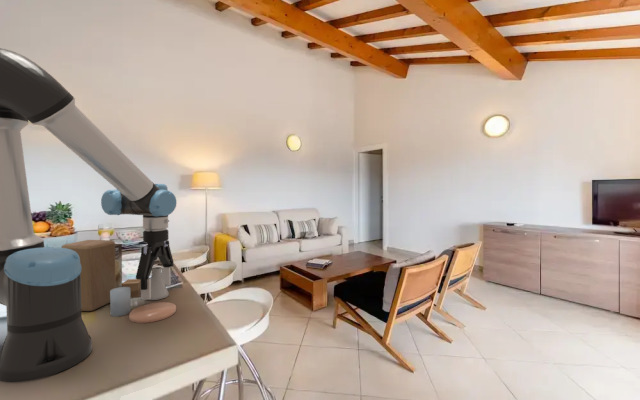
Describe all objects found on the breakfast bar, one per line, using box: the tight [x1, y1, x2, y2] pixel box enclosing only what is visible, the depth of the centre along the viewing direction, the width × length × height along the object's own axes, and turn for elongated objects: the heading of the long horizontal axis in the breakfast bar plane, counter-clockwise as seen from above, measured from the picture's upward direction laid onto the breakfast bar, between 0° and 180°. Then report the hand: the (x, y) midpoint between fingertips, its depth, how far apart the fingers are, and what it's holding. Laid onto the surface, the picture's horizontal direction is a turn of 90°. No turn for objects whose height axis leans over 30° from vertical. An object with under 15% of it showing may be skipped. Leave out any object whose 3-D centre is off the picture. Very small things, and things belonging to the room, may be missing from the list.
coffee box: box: [115, 243, 123, 288], centre depth 109 cm, size 9×6×16 cm
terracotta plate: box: [128, 301, 177, 324], centre depth 88 cm, size 12×12×1 cm
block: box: [60, 239, 116, 312], centre depth 94 cm, size 10×10×20 cm
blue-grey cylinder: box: [109, 286, 132, 317], centre depth 89 cm, size 5×5×7 cm
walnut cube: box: [121, 278, 141, 299], centre depth 104 cm, size 5×5×5 cm
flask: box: [145, 266, 170, 301], centre depth 102 cm, size 7×7×10 cm
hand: (156, 291), depth 102 cm, fingers open, 13 cm apart
